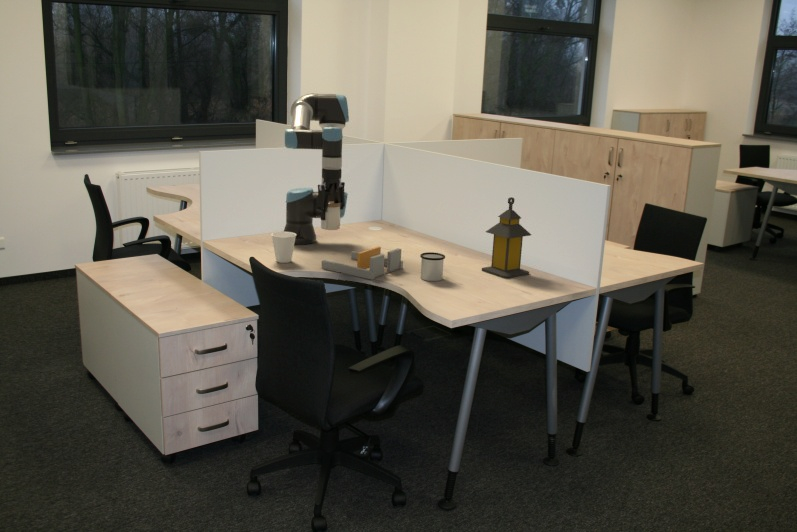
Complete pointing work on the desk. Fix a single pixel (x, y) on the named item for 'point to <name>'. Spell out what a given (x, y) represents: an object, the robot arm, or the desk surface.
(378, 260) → the lane
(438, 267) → the mug
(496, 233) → the lantern
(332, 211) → the jar
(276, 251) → the cup
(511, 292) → the desk surface
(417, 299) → the desk surface
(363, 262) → the pusher
